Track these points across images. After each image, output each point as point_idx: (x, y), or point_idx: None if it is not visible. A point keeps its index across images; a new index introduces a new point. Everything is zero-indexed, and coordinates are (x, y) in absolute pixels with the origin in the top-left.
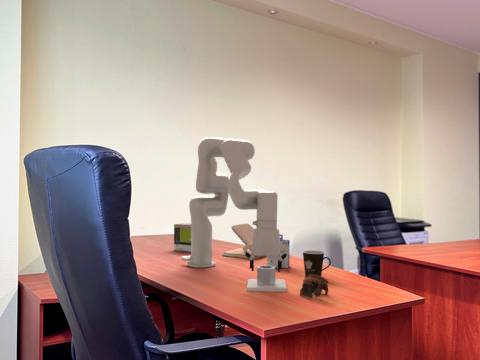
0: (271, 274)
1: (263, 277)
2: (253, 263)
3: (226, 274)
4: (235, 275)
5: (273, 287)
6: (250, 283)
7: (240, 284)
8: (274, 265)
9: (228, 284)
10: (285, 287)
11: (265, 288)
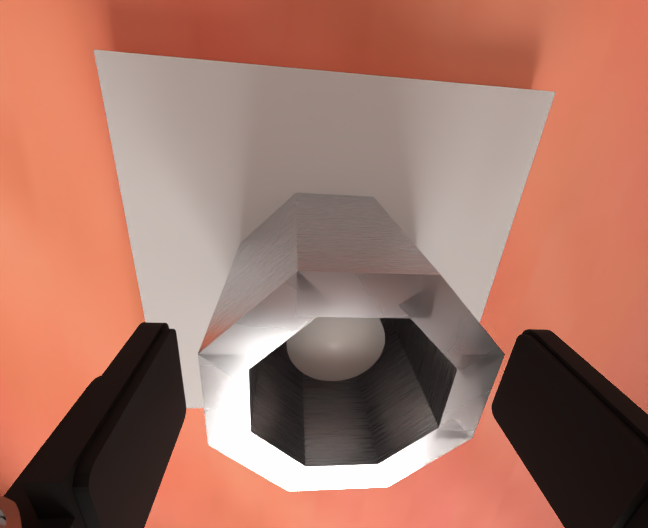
0: (274, 251)
1: (382, 222)
2: (613, 416)
3: (524, 514)
4: (480, 504)
5: (260, 97)
6: (471, 266)
7: (514, 320)
8: None
9: (600, 315)
10: (114, 100)
11: (354, 75)
